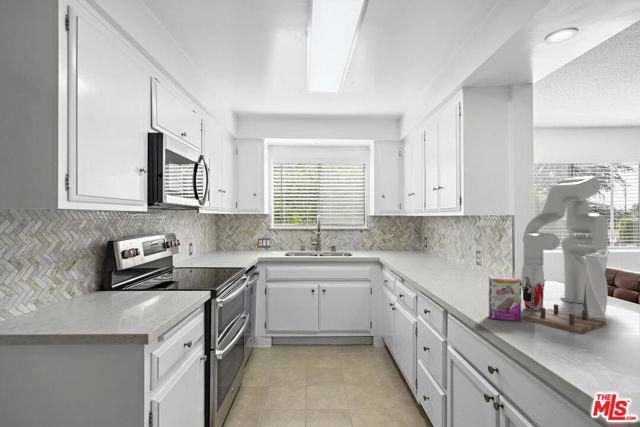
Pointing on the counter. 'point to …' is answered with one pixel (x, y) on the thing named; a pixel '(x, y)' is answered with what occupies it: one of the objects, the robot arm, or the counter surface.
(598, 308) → the skyscraper
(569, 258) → the robot arm
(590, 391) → the counter surface
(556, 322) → the brown peg board
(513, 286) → the candy bar box
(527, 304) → the soda can
